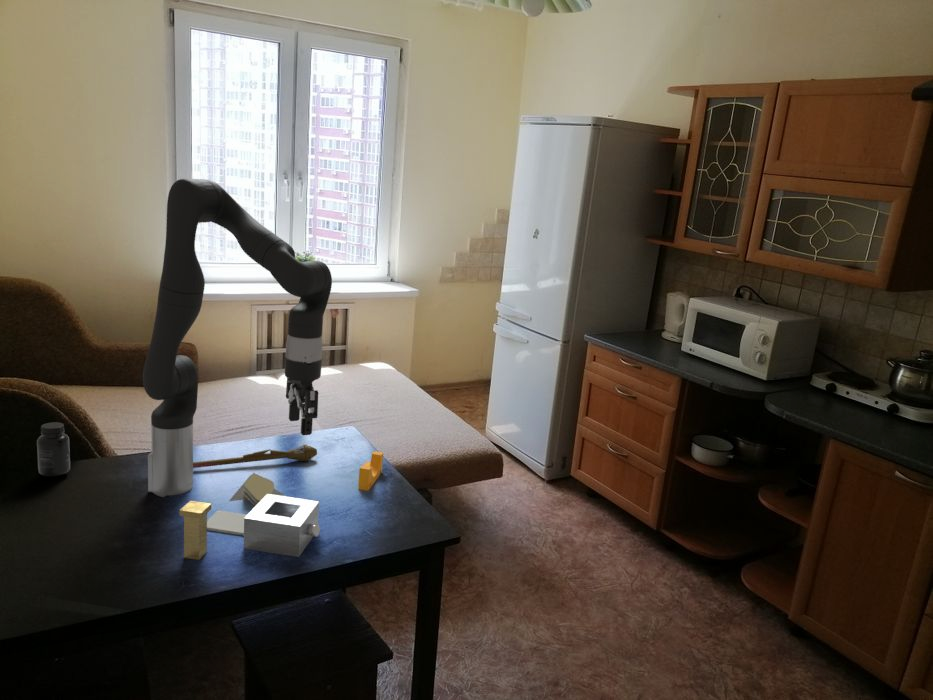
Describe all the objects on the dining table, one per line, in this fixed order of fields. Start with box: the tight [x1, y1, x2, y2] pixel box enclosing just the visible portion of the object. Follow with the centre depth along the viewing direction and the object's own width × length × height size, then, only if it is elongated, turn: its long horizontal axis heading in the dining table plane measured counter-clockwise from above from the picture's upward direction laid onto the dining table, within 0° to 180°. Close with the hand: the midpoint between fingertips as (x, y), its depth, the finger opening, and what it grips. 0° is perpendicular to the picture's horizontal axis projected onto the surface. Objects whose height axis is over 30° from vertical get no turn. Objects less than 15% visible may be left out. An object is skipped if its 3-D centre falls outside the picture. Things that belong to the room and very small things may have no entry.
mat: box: [207, 509, 248, 537], centre depth 158 cm, size 10×8×1 cm
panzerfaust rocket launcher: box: [193, 444, 318, 469], centre depth 189 cm, size 5×35×5 cm, turn 113°
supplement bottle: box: [36, 421, 71, 477], centre depth 174 cm, size 7×7×12 cm
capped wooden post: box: [179, 500, 212, 561], centre depth 144 cm, size 4×4×11 cm
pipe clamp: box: [357, 450, 384, 492], centre depth 185 cm, size 12×4×6 cm, turn 170°
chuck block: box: [243, 494, 321, 558], centre depth 153 cm, size 14×12×7 cm
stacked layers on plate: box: [228, 472, 285, 507], centre depth 170 cm, size 10×9×6 cm
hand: (299, 427), depth 154 cm, fingers open, 8 cm apart
